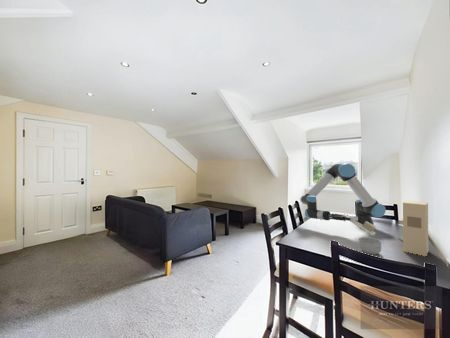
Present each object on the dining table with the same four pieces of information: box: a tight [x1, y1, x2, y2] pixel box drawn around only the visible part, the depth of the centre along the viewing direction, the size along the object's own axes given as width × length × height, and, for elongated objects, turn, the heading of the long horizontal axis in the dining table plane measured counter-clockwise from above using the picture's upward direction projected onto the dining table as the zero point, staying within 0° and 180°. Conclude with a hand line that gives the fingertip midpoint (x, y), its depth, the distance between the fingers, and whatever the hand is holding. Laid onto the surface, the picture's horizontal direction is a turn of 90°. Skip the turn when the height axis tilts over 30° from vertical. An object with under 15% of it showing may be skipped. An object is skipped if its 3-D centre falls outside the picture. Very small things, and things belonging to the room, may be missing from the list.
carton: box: [402, 200, 429, 257], centre depth 121 cm, size 12×10×30 cm
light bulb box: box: [397, 223, 403, 242], centre depth 139 cm, size 11×7×11 cm, turn 168°
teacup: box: [359, 236, 382, 256], centre depth 121 cm, size 14×11×8 cm
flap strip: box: [342, 213, 376, 236], centre depth 145 cm, size 4×22×6 cm, turn 41°
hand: (356, 219), depth 146 cm, fingers closed on flap strip, 4 cm apart
